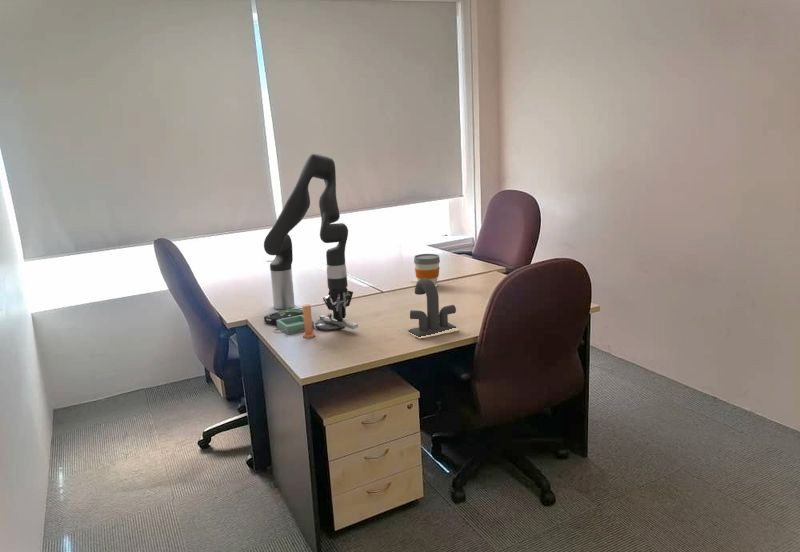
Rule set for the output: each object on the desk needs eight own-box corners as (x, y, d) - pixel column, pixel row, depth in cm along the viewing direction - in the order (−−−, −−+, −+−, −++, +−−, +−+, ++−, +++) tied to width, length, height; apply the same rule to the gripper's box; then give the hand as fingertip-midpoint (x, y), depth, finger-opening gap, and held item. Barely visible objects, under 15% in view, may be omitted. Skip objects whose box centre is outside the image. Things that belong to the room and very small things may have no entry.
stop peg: (301, 335, 221) (298, 305, 218) (311, 333, 223) (309, 303, 220) (306, 338, 217) (303, 308, 214) (316, 336, 220) (314, 306, 217)
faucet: (438, 319, 234) (437, 271, 229) (459, 330, 220) (459, 279, 215) (398, 328, 226) (396, 278, 221) (418, 339, 212) (416, 287, 207)
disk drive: (282, 326, 232) (307, 316, 244) (281, 320, 231) (306, 310, 243) (264, 323, 238) (289, 313, 250) (263, 316, 237) (289, 307, 249)
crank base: (310, 325, 233) (310, 321, 232) (337, 319, 239) (336, 315, 239) (323, 333, 223) (323, 329, 223) (350, 326, 229) (350, 323, 229)
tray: (277, 327, 232) (276, 320, 231) (302, 321, 238) (301, 314, 237) (287, 334, 223) (287, 327, 222) (313, 328, 229) (313, 321, 228)
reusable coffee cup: (445, 286, 284) (445, 256, 280) (426, 291, 276) (426, 260, 272) (428, 281, 293) (427, 252, 290) (409, 286, 285) (408, 256, 282)
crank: (317, 320, 232) (315, 301, 230) (326, 317, 236) (325, 298, 234) (351, 330, 219) (349, 310, 217) (360, 327, 222) (359, 306, 220)
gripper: (328, 280, 214) (332, 325, 219) (357, 273, 224) (359, 316, 228) (316, 277, 220) (319, 321, 224) (344, 270, 229) (347, 312, 233)
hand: (339, 318), depth 226 cm, fingers closed on crank, 2 cm apart
